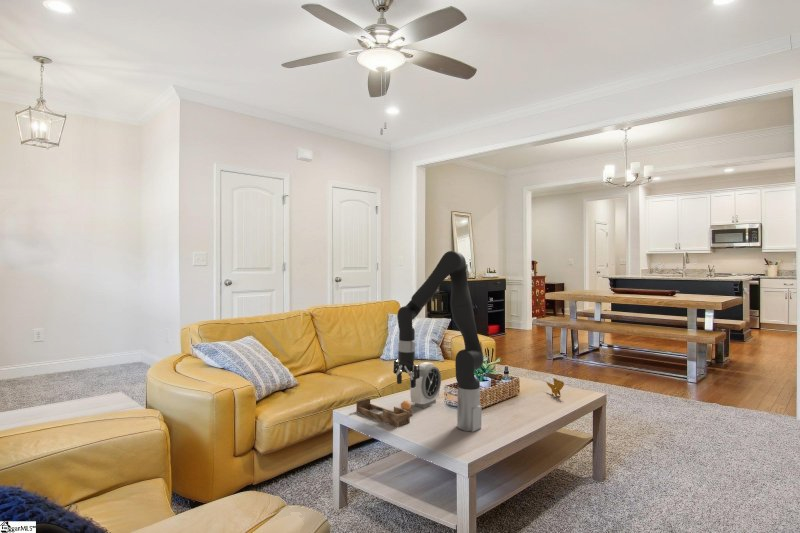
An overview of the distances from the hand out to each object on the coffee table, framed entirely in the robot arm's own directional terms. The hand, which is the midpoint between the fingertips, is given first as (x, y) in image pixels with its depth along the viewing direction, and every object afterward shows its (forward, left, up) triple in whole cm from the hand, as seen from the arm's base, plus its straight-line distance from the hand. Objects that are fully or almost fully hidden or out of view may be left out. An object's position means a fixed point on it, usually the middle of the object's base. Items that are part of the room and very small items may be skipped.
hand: (406, 385), depth 202 cm
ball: (0, 0, -9) cm, 9 cm away
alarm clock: (+5, -19, -14) cm, 24 cm away
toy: (-32, -80, -14) cm, 87 cm away
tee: (0, 0, -14) cm, 14 cm away
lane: (+6, +9, -14) cm, 17 cm away
